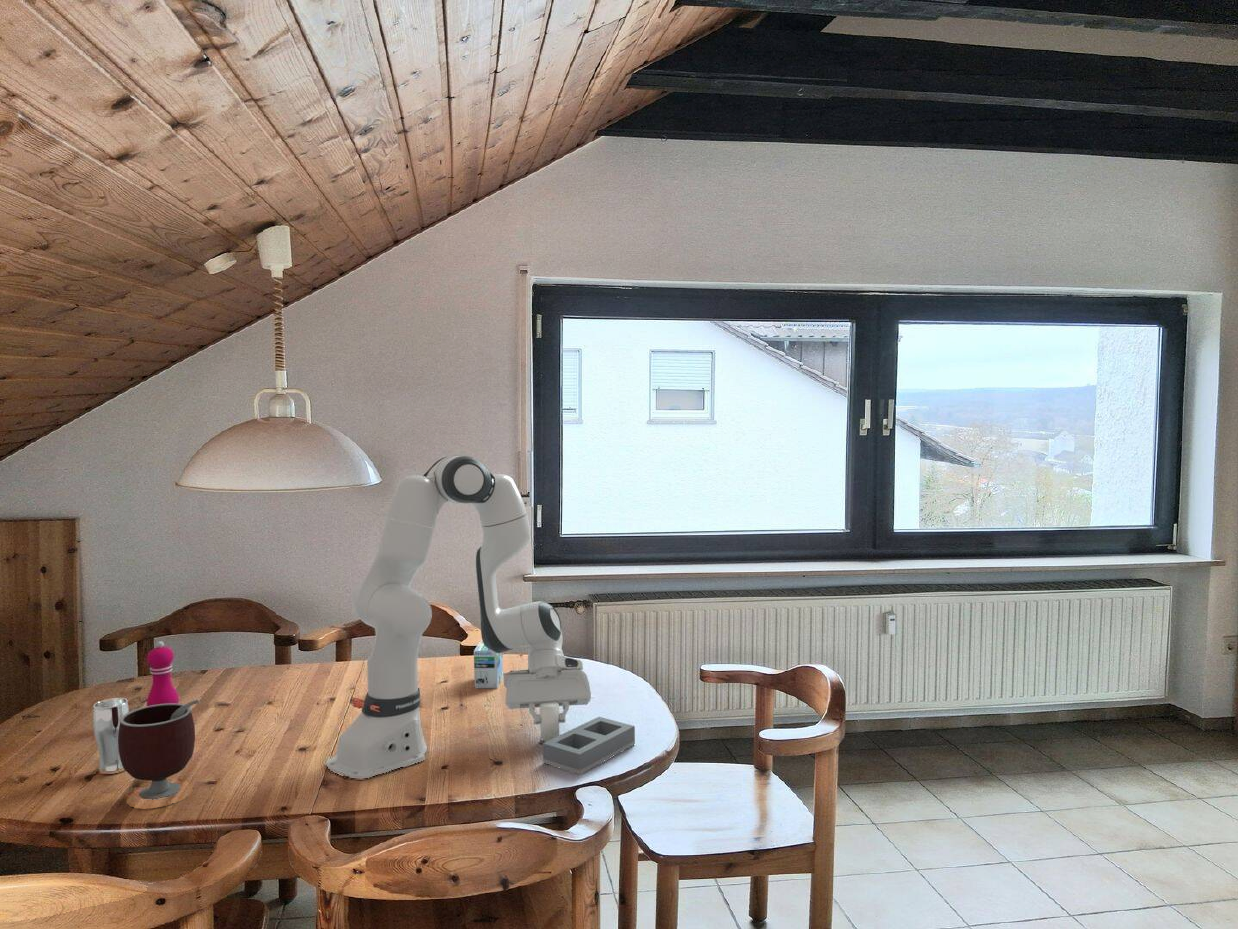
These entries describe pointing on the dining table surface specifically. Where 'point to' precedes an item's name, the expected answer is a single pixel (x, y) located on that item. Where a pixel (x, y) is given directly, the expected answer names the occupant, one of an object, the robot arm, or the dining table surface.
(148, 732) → the mate gourd
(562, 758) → the socket block
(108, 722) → the beer glass
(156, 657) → the pepper mill
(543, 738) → the plug
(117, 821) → the dining table surface
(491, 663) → the light bulb box
